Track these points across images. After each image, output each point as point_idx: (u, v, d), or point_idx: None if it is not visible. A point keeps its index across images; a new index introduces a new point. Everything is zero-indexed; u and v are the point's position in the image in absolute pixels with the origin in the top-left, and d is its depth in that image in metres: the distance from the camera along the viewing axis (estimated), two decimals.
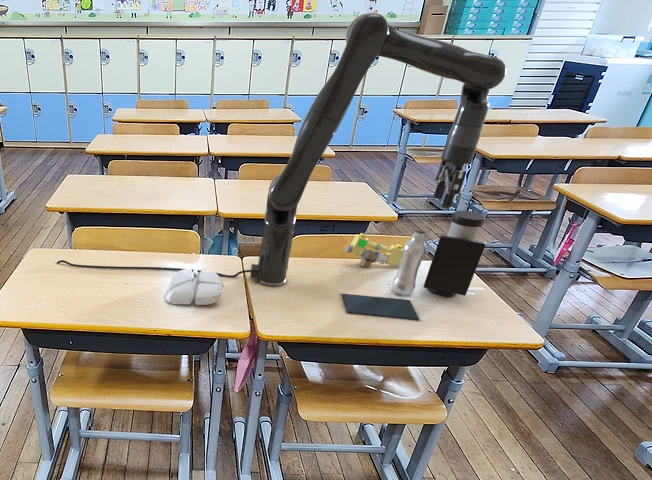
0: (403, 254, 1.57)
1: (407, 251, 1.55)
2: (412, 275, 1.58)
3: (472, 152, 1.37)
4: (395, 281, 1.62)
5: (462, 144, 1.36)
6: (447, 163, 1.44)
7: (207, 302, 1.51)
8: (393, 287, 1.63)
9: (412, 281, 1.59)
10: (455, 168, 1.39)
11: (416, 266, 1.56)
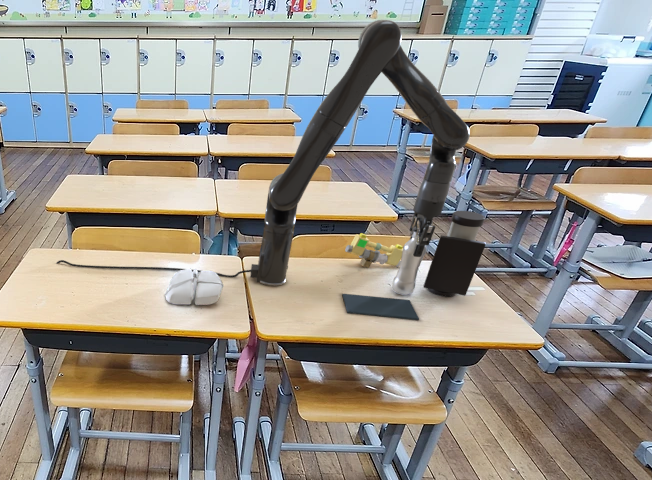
0: (403, 254, 1.57)
1: (407, 251, 1.55)
2: (412, 275, 1.58)
3: (441, 206, 1.46)
4: (395, 281, 1.62)
5: (431, 199, 1.44)
6: None
7: (207, 302, 1.51)
8: (393, 287, 1.63)
9: (412, 281, 1.59)
10: (426, 221, 1.47)
11: (416, 266, 1.56)
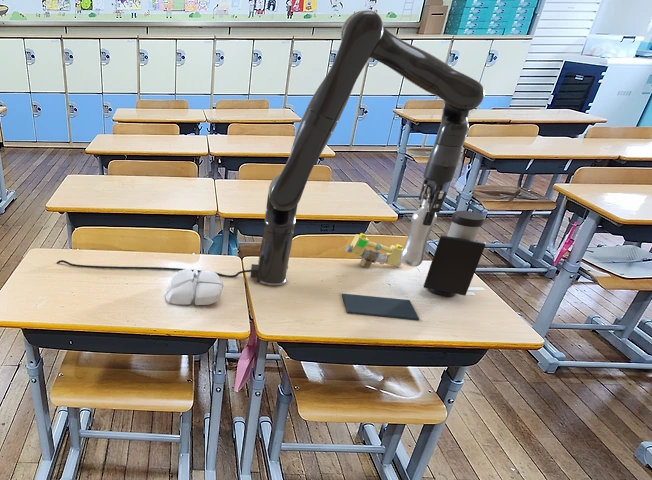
0: (412, 223, 1.51)
1: (416, 219, 1.50)
2: (421, 245, 1.53)
3: (453, 171, 1.40)
4: (403, 252, 1.56)
5: (443, 163, 1.39)
6: (429, 181, 1.47)
7: (207, 302, 1.51)
8: (401, 258, 1.57)
9: (421, 252, 1.54)
10: (436, 187, 1.42)
11: (425, 236, 1.51)
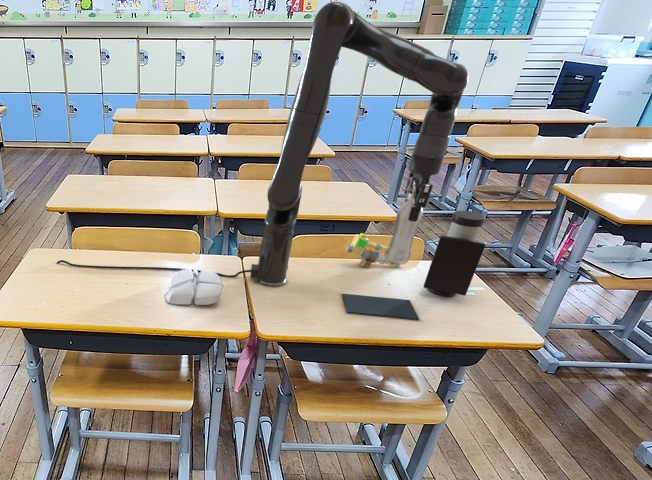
0: (397, 219, 1.42)
1: (401, 215, 1.41)
2: (407, 242, 1.44)
3: (439, 163, 1.31)
4: (388, 250, 1.47)
5: (429, 155, 1.30)
6: (415, 174, 1.38)
7: (207, 302, 1.51)
8: (386, 256, 1.48)
9: (407, 249, 1.45)
10: (422, 180, 1.33)
11: (411, 232, 1.42)
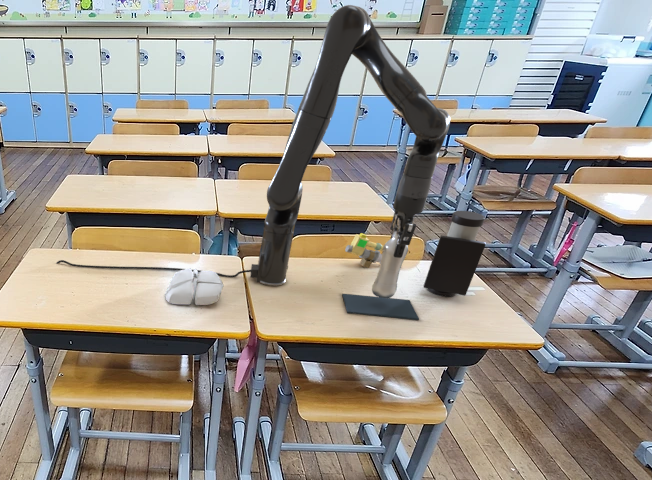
0: (383, 254, 1.46)
1: (387, 251, 1.44)
2: (393, 277, 1.47)
3: (423, 203, 1.35)
4: (375, 283, 1.51)
5: (412, 195, 1.33)
6: (400, 211, 1.42)
7: (207, 302, 1.51)
8: (373, 290, 1.52)
9: (393, 283, 1.48)
10: (406, 219, 1.37)
11: (397, 267, 1.46)
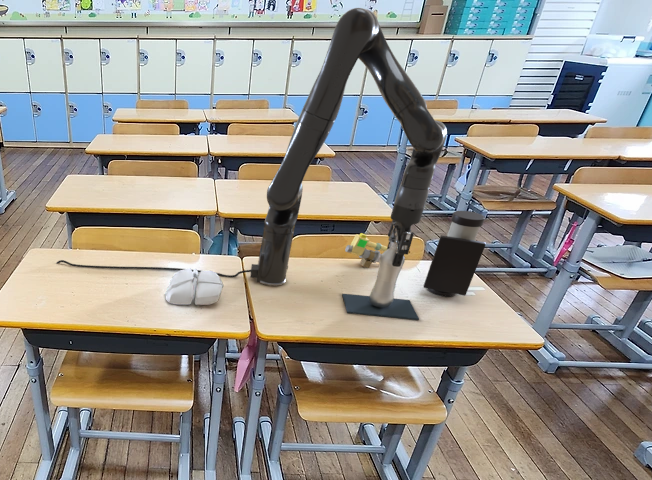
0: (380, 265, 1.48)
1: (383, 261, 1.46)
2: (390, 287, 1.49)
3: (420, 213, 1.36)
4: (372, 293, 1.52)
5: (409, 206, 1.35)
6: (397, 221, 1.43)
7: (207, 302, 1.51)
8: (370, 299, 1.54)
9: (390, 293, 1.50)
10: (403, 229, 1.38)
11: (394, 278, 1.47)
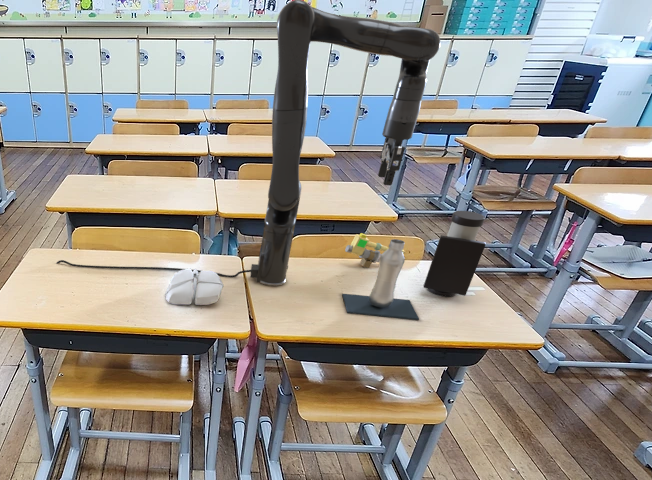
0: (380, 265, 1.48)
1: (383, 261, 1.46)
2: (390, 287, 1.49)
3: (411, 127, 1.35)
4: (372, 293, 1.52)
5: (401, 119, 1.34)
6: (389, 140, 1.42)
7: (207, 302, 1.51)
8: (370, 299, 1.54)
9: (390, 293, 1.50)
10: (395, 144, 1.37)
11: (394, 278, 1.47)
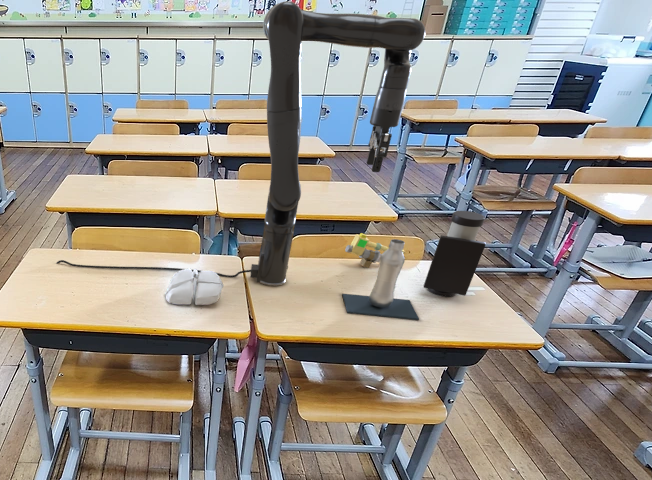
0: (380, 265, 1.48)
1: (383, 261, 1.46)
2: (390, 287, 1.49)
3: (398, 115, 1.39)
4: (372, 293, 1.52)
5: (387, 107, 1.37)
6: (376, 128, 1.46)
7: (207, 302, 1.51)
8: (370, 299, 1.54)
9: (390, 293, 1.50)
10: (382, 131, 1.41)
11: (394, 278, 1.47)
